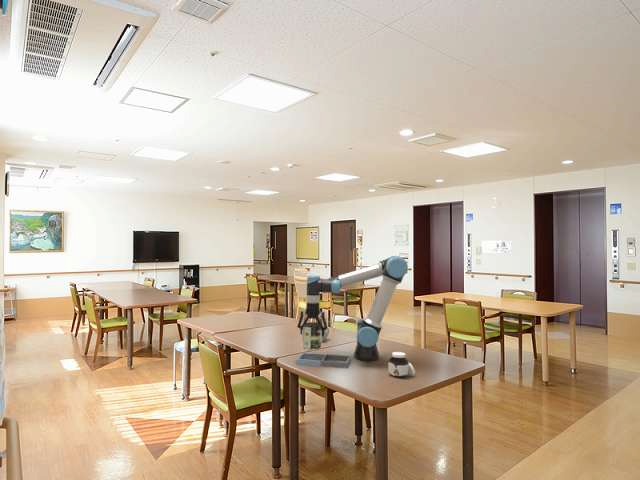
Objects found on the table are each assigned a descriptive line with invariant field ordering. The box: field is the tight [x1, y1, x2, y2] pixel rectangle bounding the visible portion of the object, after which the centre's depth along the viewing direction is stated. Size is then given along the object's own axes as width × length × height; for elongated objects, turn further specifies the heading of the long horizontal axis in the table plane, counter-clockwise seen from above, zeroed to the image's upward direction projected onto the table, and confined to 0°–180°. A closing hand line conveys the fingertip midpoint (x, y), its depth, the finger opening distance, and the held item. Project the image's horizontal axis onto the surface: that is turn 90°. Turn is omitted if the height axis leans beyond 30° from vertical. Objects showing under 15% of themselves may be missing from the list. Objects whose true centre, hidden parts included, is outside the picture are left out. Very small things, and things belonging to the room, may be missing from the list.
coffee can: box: [302, 321, 322, 351], centre depth 240 cm, size 10×10×14 cm
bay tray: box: [295, 352, 352, 369], centre depth 238 cm, size 29×15×3 cm, turn 79°
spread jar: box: [387, 351, 416, 379], centre depth 216 cm, size 12×11×12 cm
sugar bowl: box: [316, 321, 330, 342], centre depth 293 cm, size 20×15×15 cm
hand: (312, 340), depth 240 cm, fingers closed on coffee can, 10 cm apart
